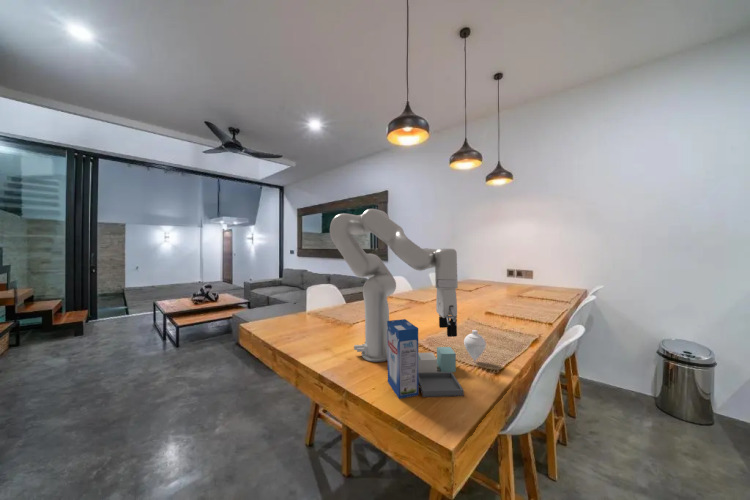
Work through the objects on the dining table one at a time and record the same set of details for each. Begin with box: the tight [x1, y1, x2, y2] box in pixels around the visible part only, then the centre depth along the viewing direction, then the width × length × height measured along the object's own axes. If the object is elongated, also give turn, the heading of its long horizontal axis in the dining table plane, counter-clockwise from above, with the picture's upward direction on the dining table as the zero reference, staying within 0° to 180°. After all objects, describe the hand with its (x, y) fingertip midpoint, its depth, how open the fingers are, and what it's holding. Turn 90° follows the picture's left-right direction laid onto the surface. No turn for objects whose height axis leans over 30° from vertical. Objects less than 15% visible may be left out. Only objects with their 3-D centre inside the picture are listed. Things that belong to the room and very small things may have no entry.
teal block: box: [436, 346, 457, 373], centre depth 96 cm, size 5×6×6 cm
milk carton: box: [387, 318, 420, 400], centre depth 83 cm, size 10×6×20 cm, turn 16°
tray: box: [419, 371, 465, 398], centre depth 84 cm, size 12×11×2 cm
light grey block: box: [418, 352, 441, 373], centre depth 96 cm, size 9×6×5 cm, turn 92°
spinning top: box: [463, 329, 487, 363], centre depth 101 cm, size 8×8×12 cm
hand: (447, 331), depth 96 cm, fingers open, 9 cm apart
